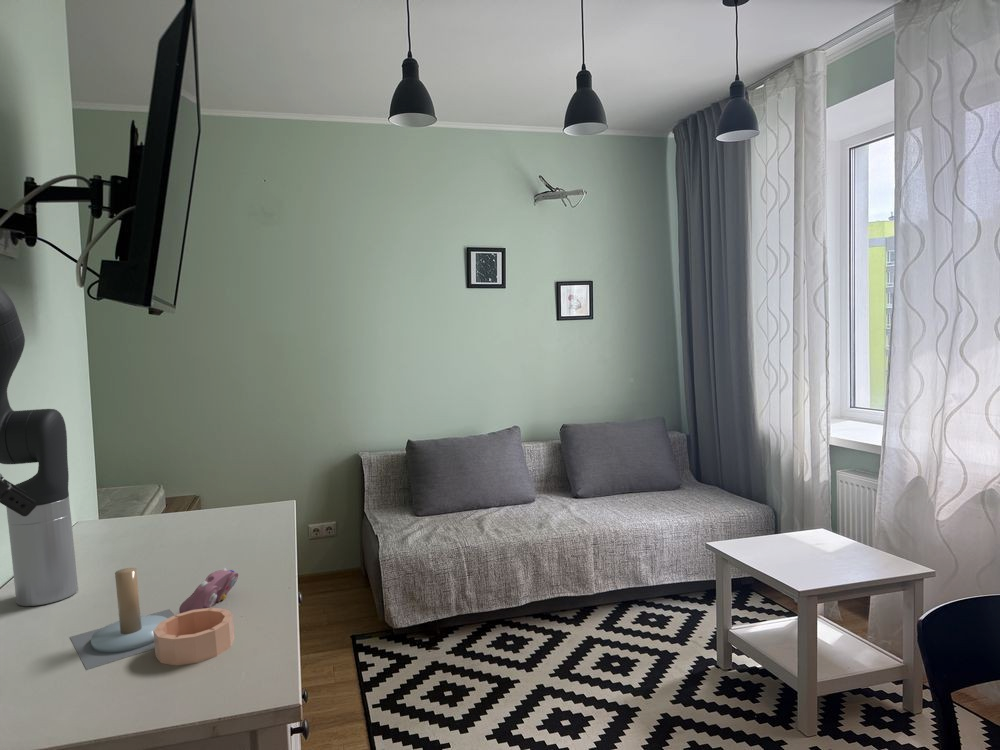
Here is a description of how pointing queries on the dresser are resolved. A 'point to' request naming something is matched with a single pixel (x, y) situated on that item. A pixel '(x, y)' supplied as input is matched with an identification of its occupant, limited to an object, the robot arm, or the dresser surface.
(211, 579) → the video game controller
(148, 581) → the dresser surface
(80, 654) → the mat
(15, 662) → the dresser surface
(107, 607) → the dresser surface
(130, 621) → the lid
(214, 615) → the bowl
